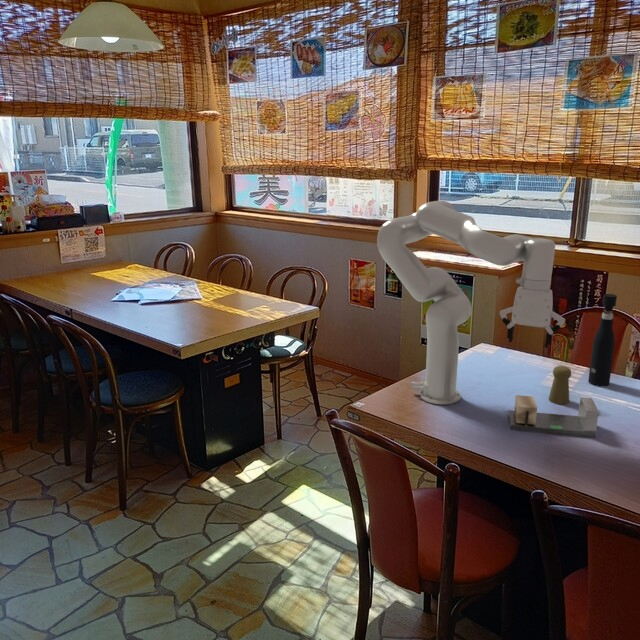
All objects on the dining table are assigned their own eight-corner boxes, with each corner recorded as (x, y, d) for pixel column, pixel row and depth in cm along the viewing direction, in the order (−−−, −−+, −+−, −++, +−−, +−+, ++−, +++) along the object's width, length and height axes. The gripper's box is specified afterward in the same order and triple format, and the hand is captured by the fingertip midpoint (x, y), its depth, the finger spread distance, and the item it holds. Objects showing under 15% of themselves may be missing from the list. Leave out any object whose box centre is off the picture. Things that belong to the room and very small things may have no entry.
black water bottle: (610, 381, 201) (622, 294, 193) (607, 388, 196) (619, 298, 188) (589, 378, 205) (600, 292, 196) (586, 384, 199) (597, 296, 191)
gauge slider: (516, 424, 167) (518, 407, 165) (514, 411, 175) (515, 395, 174) (535, 426, 166) (537, 409, 164) (532, 412, 174) (534, 396, 173)
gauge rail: (510, 429, 168) (513, 405, 166) (508, 414, 177) (510, 391, 175) (595, 437, 163) (599, 412, 161) (588, 421, 172) (591, 397, 170)
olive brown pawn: (571, 405, 183) (575, 371, 180) (550, 403, 184) (553, 370, 181) (567, 397, 189) (571, 364, 186) (547, 396, 190) (550, 363, 187)
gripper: (500, 283, 164) (494, 342, 169) (568, 291, 157) (559, 352, 162) (505, 278, 171) (499, 335, 176) (570, 285, 163) (562, 344, 168)
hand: (528, 343), depth 169 cm, fingers open, 9 cm apart
